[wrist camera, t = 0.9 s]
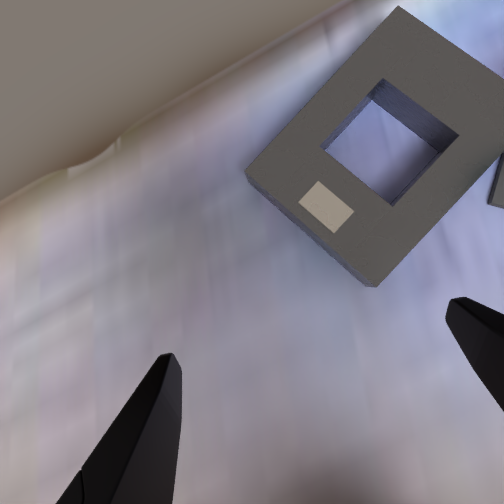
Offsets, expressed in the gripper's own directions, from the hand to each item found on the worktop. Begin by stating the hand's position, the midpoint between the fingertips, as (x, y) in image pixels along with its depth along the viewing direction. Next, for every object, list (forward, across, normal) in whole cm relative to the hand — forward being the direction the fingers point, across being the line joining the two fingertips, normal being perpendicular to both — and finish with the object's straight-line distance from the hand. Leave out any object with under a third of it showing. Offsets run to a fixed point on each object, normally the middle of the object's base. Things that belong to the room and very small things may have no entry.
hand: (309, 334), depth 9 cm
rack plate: (+16, -9, 0) cm, 18 cm away
